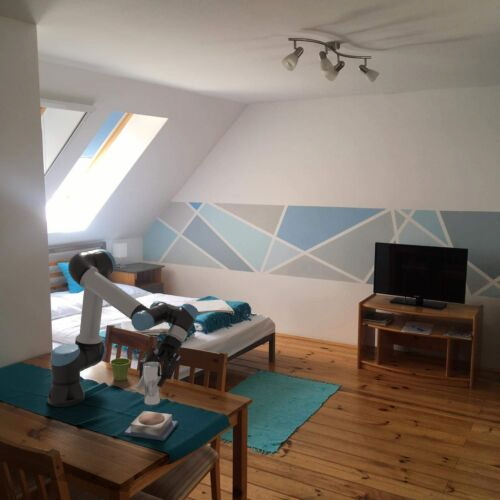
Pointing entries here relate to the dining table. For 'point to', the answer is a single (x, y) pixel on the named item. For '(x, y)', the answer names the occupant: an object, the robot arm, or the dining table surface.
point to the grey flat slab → (150, 436)
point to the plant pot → (120, 368)
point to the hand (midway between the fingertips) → (145, 391)
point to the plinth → (151, 423)
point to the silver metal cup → (151, 381)
